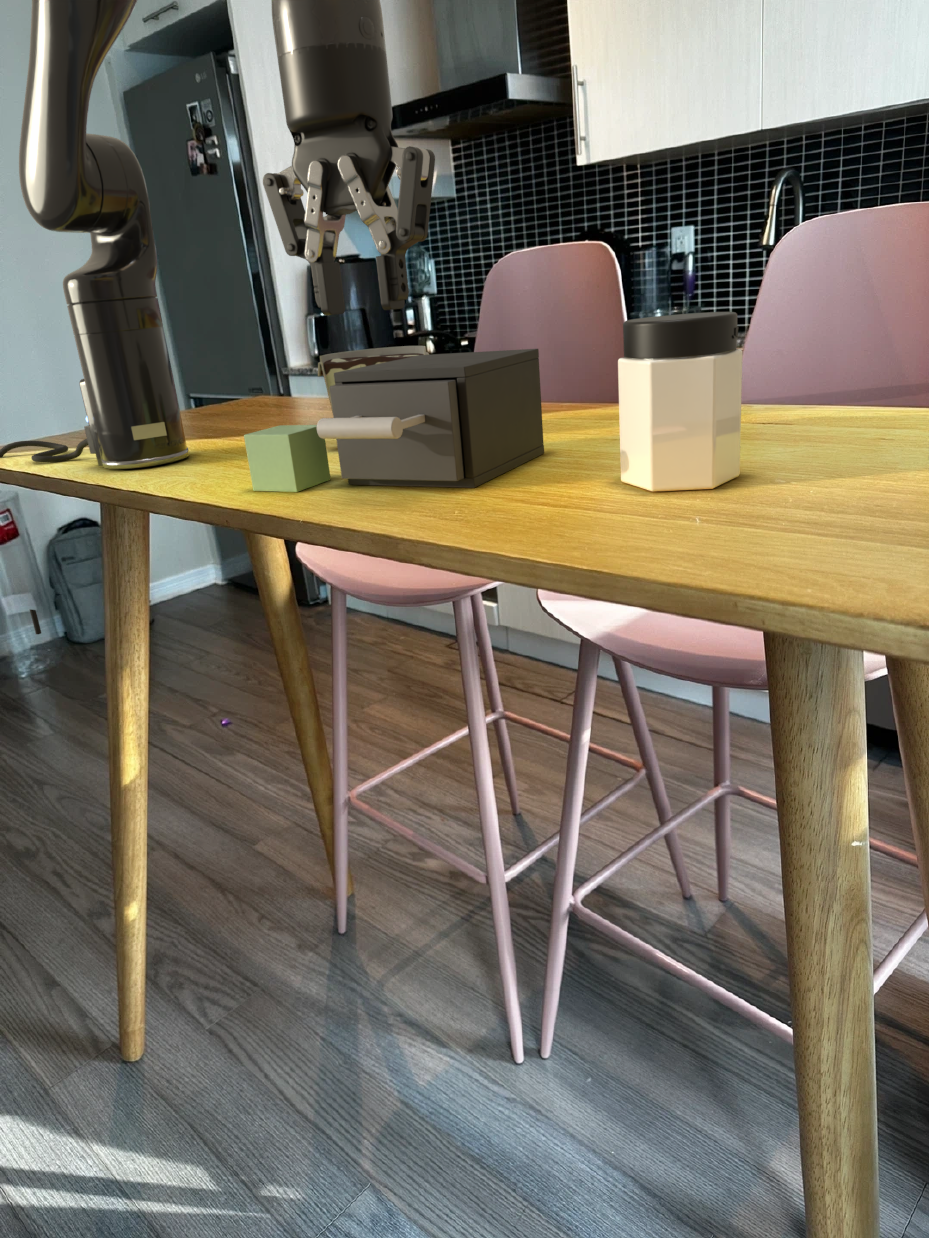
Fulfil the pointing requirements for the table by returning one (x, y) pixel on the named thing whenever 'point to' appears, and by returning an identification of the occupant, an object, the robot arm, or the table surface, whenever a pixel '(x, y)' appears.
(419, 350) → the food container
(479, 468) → the grey drawer unit
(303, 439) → the block
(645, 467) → the jar
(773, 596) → the table surface
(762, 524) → the table surface
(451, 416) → the pulled-out drawer
